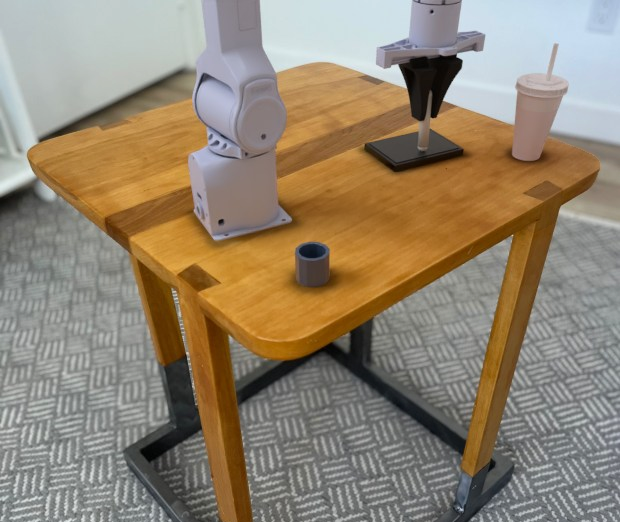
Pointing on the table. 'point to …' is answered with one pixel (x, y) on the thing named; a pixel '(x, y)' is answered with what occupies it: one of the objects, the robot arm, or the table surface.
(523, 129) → the smoothie
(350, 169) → the table surface
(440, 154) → the tablet
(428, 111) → the stylus
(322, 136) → the table surface
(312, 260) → the pencil cup
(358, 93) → the table surface
